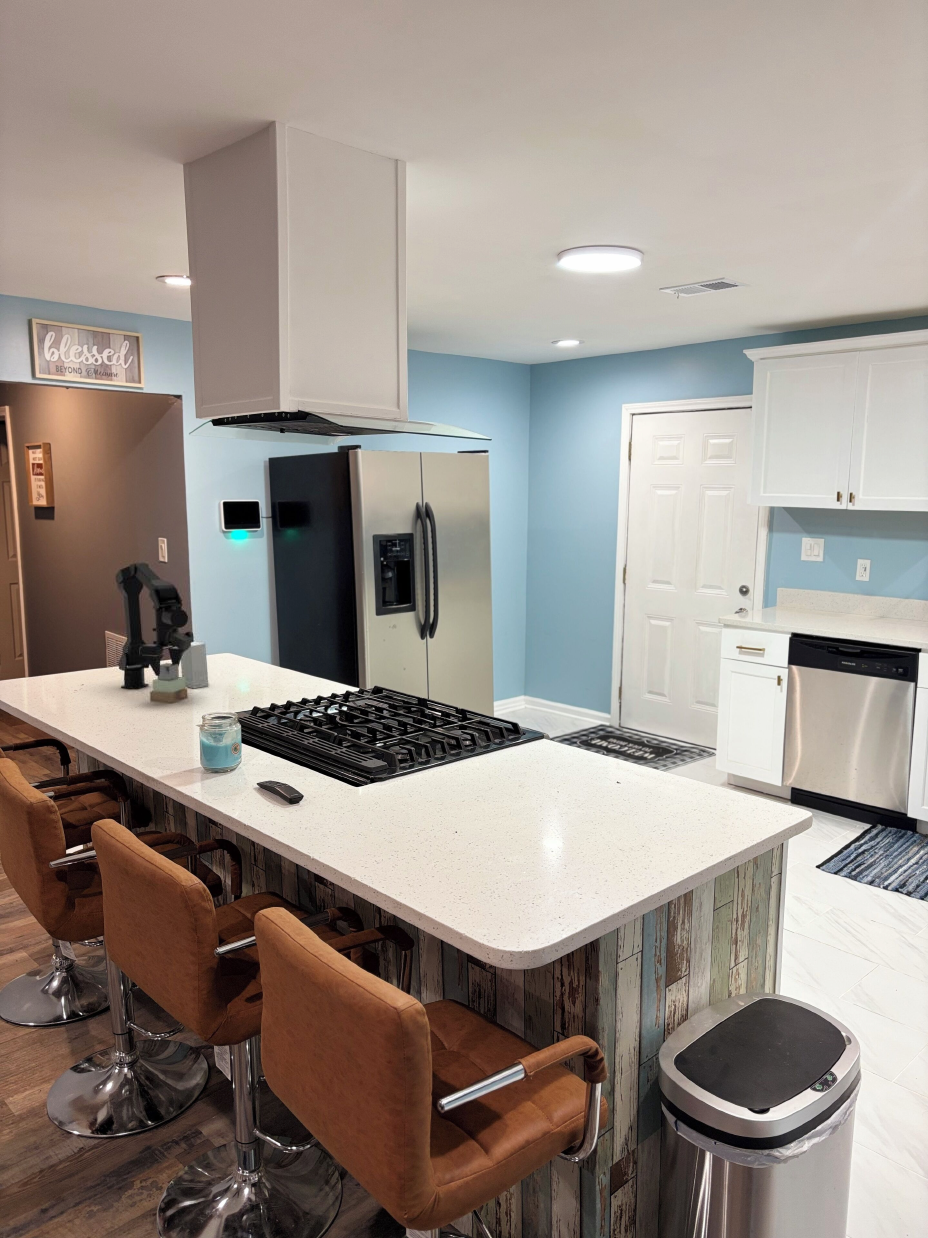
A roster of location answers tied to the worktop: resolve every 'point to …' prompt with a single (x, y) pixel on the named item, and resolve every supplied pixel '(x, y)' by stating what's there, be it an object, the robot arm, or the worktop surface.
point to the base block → (168, 696)
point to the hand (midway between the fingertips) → (166, 673)
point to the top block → (169, 685)
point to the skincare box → (195, 666)
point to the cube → (168, 671)
